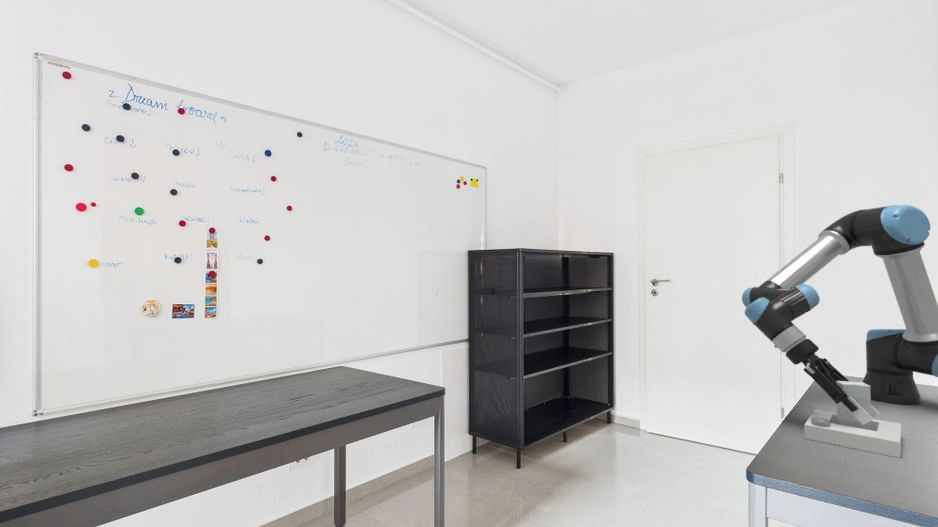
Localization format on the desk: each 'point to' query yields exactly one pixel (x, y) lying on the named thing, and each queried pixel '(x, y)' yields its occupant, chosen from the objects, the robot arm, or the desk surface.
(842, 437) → the housing
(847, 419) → the skincare box
